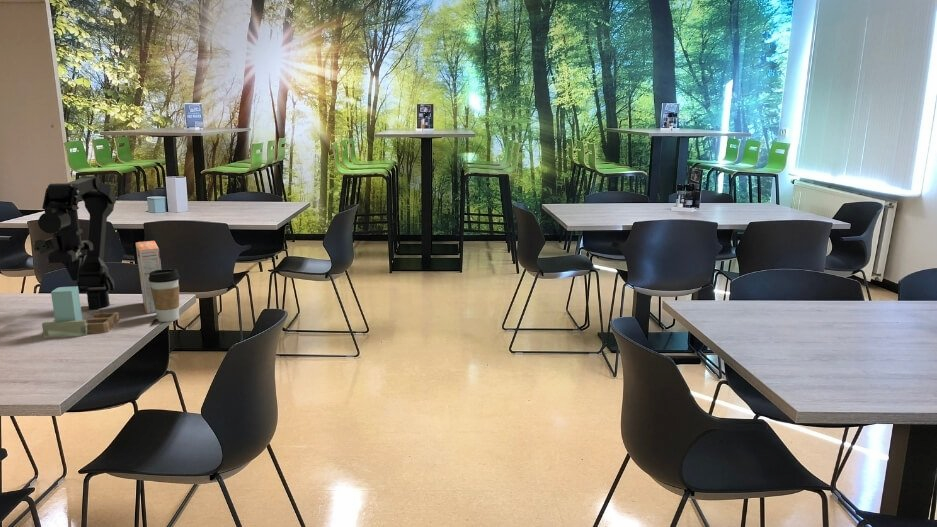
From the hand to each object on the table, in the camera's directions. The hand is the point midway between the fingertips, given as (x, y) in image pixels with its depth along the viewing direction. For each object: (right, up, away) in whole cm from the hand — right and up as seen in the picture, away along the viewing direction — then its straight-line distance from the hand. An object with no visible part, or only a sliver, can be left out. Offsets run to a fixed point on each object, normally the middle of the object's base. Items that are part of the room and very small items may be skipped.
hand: (74, 280), depth 189 cm
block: (+4, -14, -8) cm, 17 cm away
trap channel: (+5, -14, -4) cm, 16 cm away
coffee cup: (+24, -12, +7) cm, 28 cm away
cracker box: (+15, -10, +16) cm, 24 cm away
